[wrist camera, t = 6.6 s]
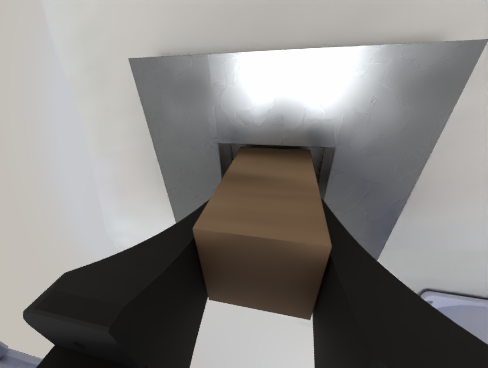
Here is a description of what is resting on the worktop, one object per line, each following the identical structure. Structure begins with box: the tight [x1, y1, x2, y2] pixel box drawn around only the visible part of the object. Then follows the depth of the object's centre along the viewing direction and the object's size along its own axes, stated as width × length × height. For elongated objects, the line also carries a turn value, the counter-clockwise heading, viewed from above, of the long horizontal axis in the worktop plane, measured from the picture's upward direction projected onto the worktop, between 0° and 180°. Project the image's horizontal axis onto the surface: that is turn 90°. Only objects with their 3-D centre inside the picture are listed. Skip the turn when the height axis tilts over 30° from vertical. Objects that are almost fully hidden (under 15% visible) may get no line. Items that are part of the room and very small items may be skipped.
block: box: [192, 147, 332, 320], centre depth 9 cm, size 4×4×7 cm
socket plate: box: [128, 39, 488, 260], centre depth 13 cm, size 14×14×2 cm
